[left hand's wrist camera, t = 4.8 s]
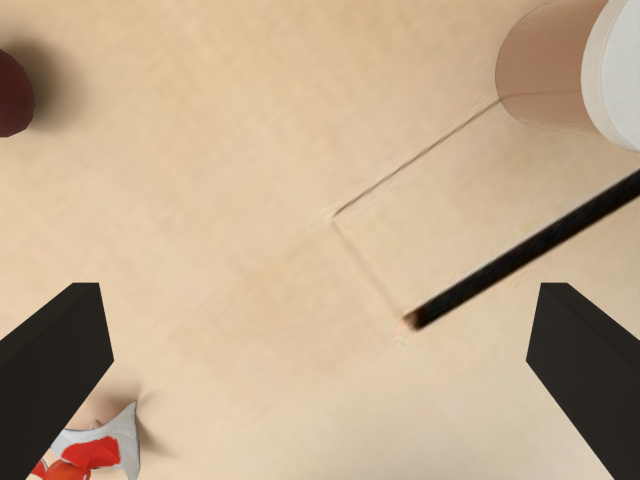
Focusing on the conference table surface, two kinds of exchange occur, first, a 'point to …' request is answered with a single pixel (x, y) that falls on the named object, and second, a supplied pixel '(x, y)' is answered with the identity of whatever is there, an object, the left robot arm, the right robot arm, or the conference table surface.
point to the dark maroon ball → (14, 97)
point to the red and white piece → (95, 450)
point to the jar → (549, 67)
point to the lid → (614, 73)
